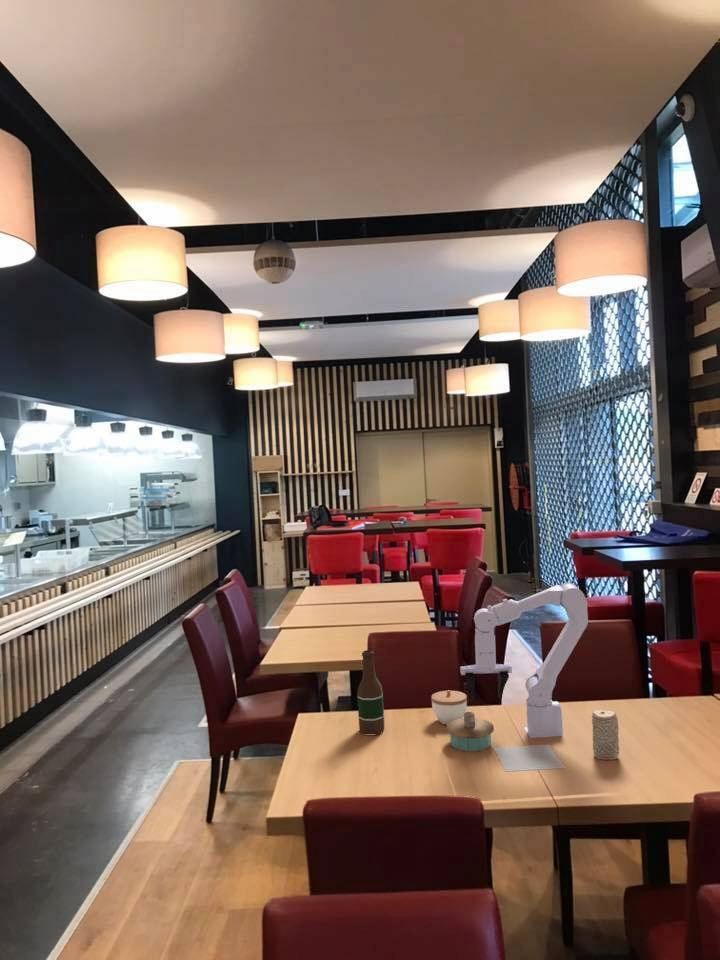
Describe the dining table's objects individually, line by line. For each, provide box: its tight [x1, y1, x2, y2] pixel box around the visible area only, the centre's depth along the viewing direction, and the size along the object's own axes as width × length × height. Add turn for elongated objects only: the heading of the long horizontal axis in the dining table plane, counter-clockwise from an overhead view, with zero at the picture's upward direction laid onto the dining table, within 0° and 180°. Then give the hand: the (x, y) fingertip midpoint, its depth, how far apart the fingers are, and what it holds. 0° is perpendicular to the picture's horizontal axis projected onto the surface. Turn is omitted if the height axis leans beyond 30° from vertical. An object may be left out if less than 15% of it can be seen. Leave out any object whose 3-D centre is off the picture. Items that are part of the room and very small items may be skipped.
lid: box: [446, 711, 495, 738], centre depth 197 cm, size 13×13×4 cm
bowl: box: [449, 733, 492, 752], centre depth 198 cm, size 11×11×4 cm
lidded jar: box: [430, 689, 468, 726], centre depth 217 cm, size 11×11×9 cm
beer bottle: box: [356, 649, 385, 735], centre depth 212 cm, size 8×8×24 cm
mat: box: [493, 744, 566, 773], centre depth 186 cm, size 15×15×1 cm
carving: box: [591, 709, 620, 761], centre depth 184 cm, size 6×8×12 cm
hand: (486, 698), depth 205 cm, fingers open, 7 cm apart
